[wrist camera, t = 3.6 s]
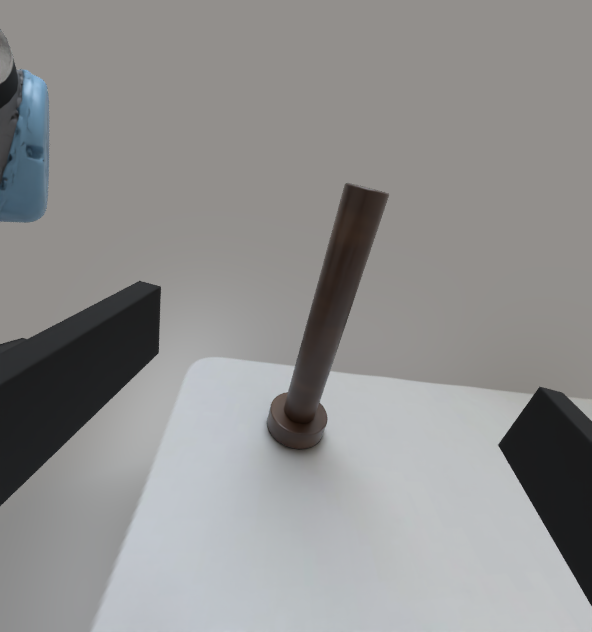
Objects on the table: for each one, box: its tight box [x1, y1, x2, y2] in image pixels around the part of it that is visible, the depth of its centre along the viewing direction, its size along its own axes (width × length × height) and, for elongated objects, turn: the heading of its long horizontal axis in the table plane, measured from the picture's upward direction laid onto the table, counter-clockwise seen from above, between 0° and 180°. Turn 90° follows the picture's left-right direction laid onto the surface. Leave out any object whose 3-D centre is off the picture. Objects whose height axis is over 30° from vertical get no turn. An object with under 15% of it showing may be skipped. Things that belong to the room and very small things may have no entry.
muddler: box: [267, 183, 389, 449], centre depth 20 cm, size 4×4×18 cm
